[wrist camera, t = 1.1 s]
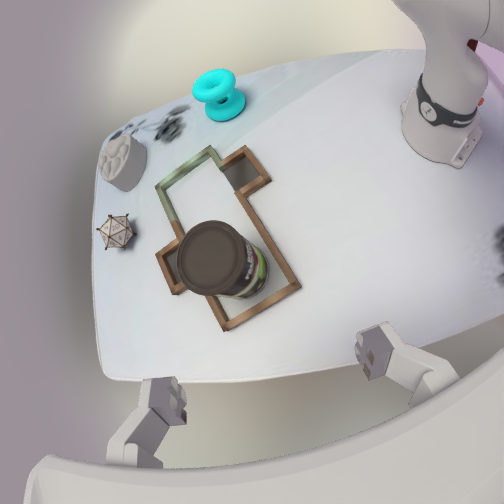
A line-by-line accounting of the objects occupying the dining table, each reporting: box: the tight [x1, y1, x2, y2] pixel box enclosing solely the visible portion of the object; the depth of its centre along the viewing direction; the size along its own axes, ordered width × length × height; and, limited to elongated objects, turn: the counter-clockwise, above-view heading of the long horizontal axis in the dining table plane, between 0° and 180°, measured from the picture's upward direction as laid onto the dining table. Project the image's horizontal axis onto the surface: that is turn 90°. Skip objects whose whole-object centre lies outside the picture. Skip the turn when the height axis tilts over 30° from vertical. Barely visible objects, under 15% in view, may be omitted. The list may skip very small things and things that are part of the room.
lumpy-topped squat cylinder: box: [98, 134, 147, 192], centre depth 59 cm, size 10×13×9 cm
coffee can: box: [176, 220, 269, 299], centre depth 43 cm, size 10×10×14 cm
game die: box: [96, 213, 137, 250], centre depth 55 cm, size 9×8×10 cm
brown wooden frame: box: [155, 145, 301, 332], centre depth 51 cm, size 27×35×2 cm
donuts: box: [192, 69, 245, 121], centre depth 54 cm, size 10×10×10 cm
